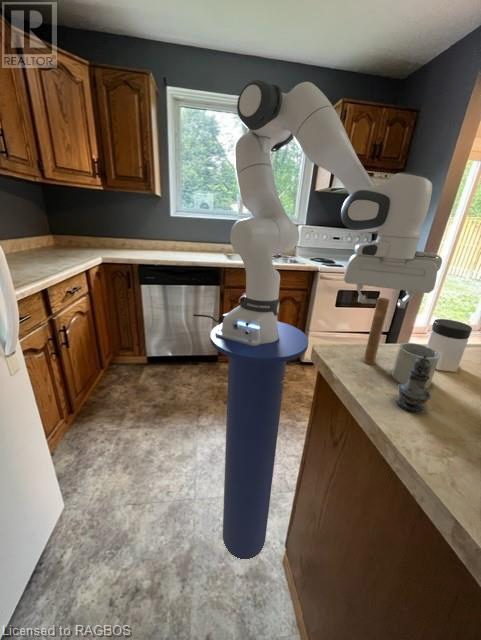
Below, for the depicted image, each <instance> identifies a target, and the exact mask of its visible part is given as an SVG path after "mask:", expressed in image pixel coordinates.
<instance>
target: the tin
mask: <svg viewBox="0 0 481 640" xmlns="http://www.w3.org/2000/svg"><path fill="white" fill-rule="evenodd" d="M424 355H426V356H427V357H426V358H427V359H428V360H429V361H430V362H431V368H430V371H429V374H428V376H429V377H430V379H429V380H427V382H426V385H425V389H428V388H430V386H431V384H432V381H433V378H434V375H435V372H436V370H437V369H436V366H437V363H438V360H439V357H440V354H439V353H438V352H437V351H435V350H434V349H432V348H429V347H427V345H423V344H419V343H414V342H402V343H400V344H399V346H398V350H397V352H396V356H395V361H394V364H393V366H392V371H391V376H392V378H393V379H394V380H395V381H396V382H398V383H399V384H401V383H407V382H408V380H409V377H410V374H409V371H411V370H412V369H413V365H414V362H415V360H416V359H417V358H422V357H423V356H424Z"/></svg>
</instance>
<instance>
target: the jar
mask: <svg viewBox="0 0 481 640" xmlns="http://www.w3.org/2000/svg"><path fill="white" fill-rule="evenodd" d="M472 330H473V327H472V326H470V325H469V324H468V323H467V324H466V323H464V322H461V321H457V320H453V319H448V318H447V319H446V318H436V319H434V321H433V323H432V327H431V332H430V335H429V337H428V341H427V345H426V346H427V347H429V348H432V349H434V350H435V351H437V352H438V353H439V354H440V357H439V360H438V363H437V366H436V369H435V370H437V371H443V372H452V373H457V372H458V369H459V366H460V363H461V361H462V358H463V356H464V353H465V350H466V347H467V344H468V342H469V338H470V336H471V333H472Z"/></svg>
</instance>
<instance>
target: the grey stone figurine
mask: <svg viewBox="0 0 481 640" xmlns="http://www.w3.org/2000/svg"><path fill="white" fill-rule="evenodd" d="M426 357H427V356H426V355H424V356H423V357H422V358H417V359H416V360H415V362H414V365H413V369H412V370H411V371H409V374H410V377H409V380H408V382H407V383H399V384H398V385H397V389H398V393H399V397H397V398H395V403H396V405H397V406H398V407H399V408H401V409H402V410H404V411H406V412H409V413H412V414H422V413H424V412H425V406H424V405H425V404H426V403H427V402H428V400H430V399H431V398H432V395H431V392H429V390H427V388H425V385H426V382H427V380H429V379H430V377H429V376H428V374H429V371H430V368H431V362H430V361H429V360H428V359H427V358H426Z"/></svg>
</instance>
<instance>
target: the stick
mask: <svg viewBox="0 0 481 640" xmlns="http://www.w3.org/2000/svg"><path fill="white" fill-rule="evenodd" d="M390 301H391V300H390V299H389V298H386V297H377V299H376V302H375V303H376V304H375V307H374V312H373V316H372V320H371V326H370V329H369V334H368V338H367V343H366V347H365V351H364V356H363V362H364V363H366V364H369V365H373V364H375V363H376V358H377V354H378V349H379V347H380V346H379V345H380V341H381V338H382V334H383V330H384V325H385V321H386V318H387V314H388V309H389V305H390Z"/></svg>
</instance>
